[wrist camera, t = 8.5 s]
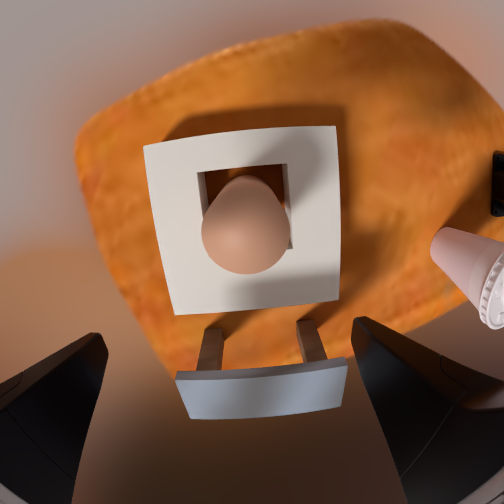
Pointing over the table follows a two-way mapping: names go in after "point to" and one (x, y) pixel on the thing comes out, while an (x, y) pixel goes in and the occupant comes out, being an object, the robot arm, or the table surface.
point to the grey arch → (262, 381)
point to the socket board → (296, 207)
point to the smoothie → (473, 270)
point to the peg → (245, 227)
